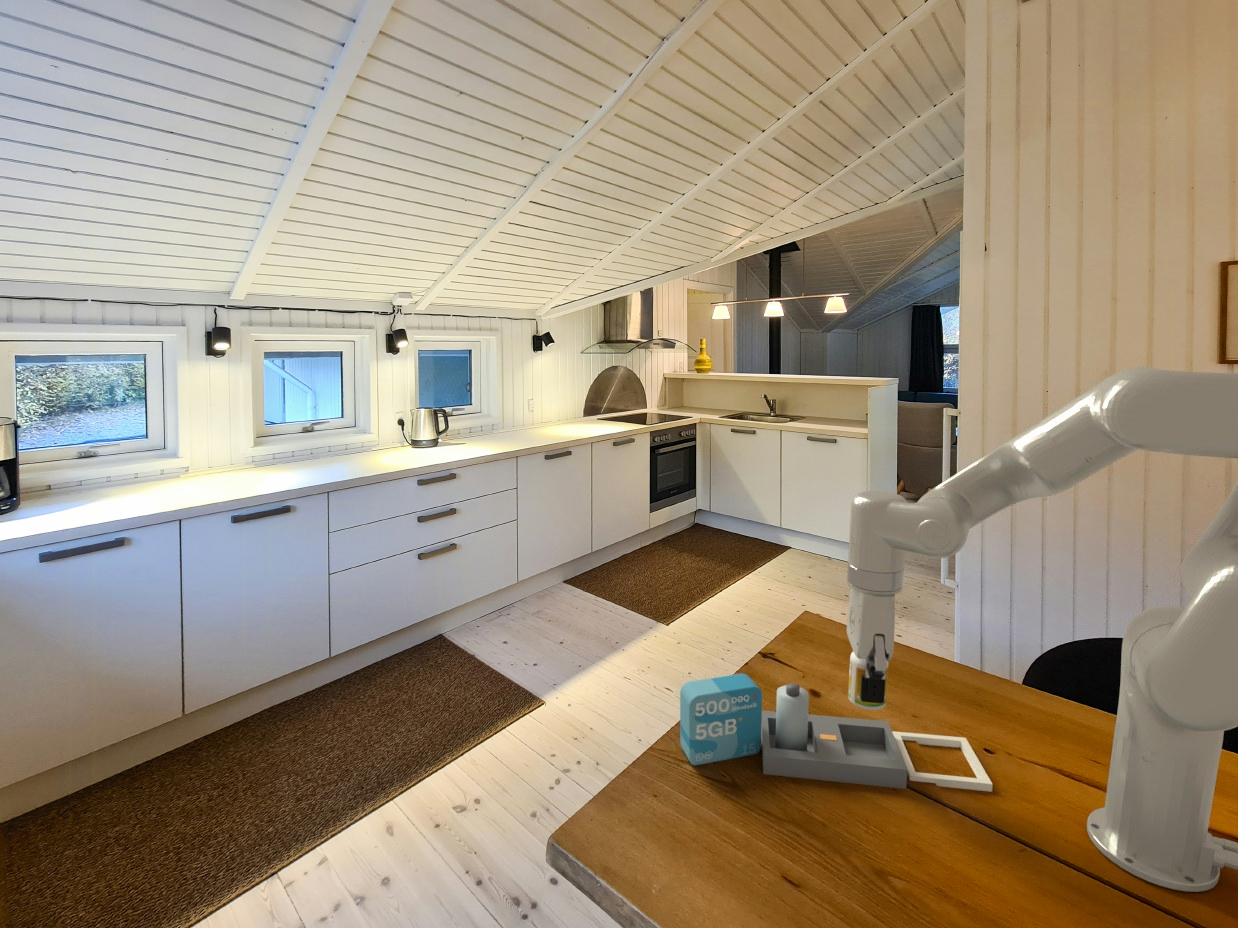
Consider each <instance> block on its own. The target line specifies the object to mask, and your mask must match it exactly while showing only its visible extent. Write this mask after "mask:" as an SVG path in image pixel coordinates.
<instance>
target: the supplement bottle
mask: <svg viewBox="0 0 1238 928" xmlns="http://www.w3.org/2000/svg"><path fill="white" fill-rule="evenodd" d="M869 655H870V656H874V652H870V653H869ZM874 663H875V661H869V669H870V667H871V666H874ZM889 665H890V664H889V661H887V660H886V681H885V696H884V702H883V703H871V702H863V701H861V698H860V694H861V677H862V675H864V658H861V659H859V658H857V657H856V655H855V654H854V651H853V650H852V652H851V654H850V658H849V671H848V686H847V688H848V691H847V692H848V693H847V696H848V697H847V698H848V700H849V702H850V703H851V704H852V705H855V706H856V707H859V708H860V709H863V710H867V711H878V710H882V709H883V708H885V706H886V704H887V698H888V697H887V694H888V677H889Z"/></svg>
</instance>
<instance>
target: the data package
mask: <svg viewBox="0 0 1238 928" xmlns="http://www.w3.org/2000/svg"><path fill="white" fill-rule="evenodd" d="M679 701H680V702H679V704H680V705H679V709H680V710H679V713H680V714H679V715H680V716H679V718H680V721H679V726H680V727H679V728H680V731H679V732H680V733H679V736H680V738H679V741H680V746H681V748H682V750H683V752H684V754H685V755H686V757H687V759H688V761H689V762H690V764H691V765H692V766H700V765H704V764H705V765H706V764H710V763H715V762H719V761H720V762H721V761H725V760H731V759H736V758H741V757H745V756H747V757H748V756H752V755H757V754H759V752H760V751H761V750H762V740H761V724H762V711H763V692H762V690H761V688H760V687H759V686H758V685H757V684H756V683H755V682H754V681H753V679H752V678H751V677H750V676H749V675H747V673H736V674H730V675H723V676H718V677H711V678H705V679H703V678H702V679H698V680H689V681H687V682H686V683H683V685H682V687H681V688H680V690H679Z"/></svg>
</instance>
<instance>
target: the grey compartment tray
mask: <svg viewBox="0 0 1238 928" xmlns="http://www.w3.org/2000/svg"><path fill="white" fill-rule="evenodd" d="M892 731H893V730H892V728H891V726H890V723H889V721H888V720H880V719H879V720H878V719H877V720H876V719H866V718H853V717H841V716H830V715H819V714H809V713H808V736H807V751H797V750H786V749H776V748H775V743H776V711H773V710H772V711H771V710H762V724H761V755H762V770H763V771H762V773H763V775H769V776H770V775H771V776H778V777H779V776H781V777H789V778H799V779H808V780H817V781H818V780H819V781H829V782H838V783H846V784H856V785H857V784H858V785H865V786H874V787H875V786H876V787H885V788H895V789H904V790H905V789H907V780H908V774H907V768H906V765H905V763H904V760H903V758H902V755H901V753H900V750H899V748H898V745H897V743H896V740H895V738H894V735H893V733H892Z"/></svg>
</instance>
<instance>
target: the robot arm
mask: <svg viewBox="0 0 1238 928" xmlns="http://www.w3.org/2000/svg"><path fill="white" fill-rule="evenodd" d="M1137 450H1139V451H1140V450H1141V451H1146V452H1155V453H1164V454H1173V455H1185V456H1196V457H1208V458H1209V457H1212V458H1226V459H1236V460H1237V459H1238V372H1204V371H1203V372H1202V371H1185V370H1183V371H1182V370H1170V369H1169V370H1167V369H1160V368H1154V367H1148V366H1147V367H1144V366H1142V367H1130V368H1127V369H1124V370H1121V371H1118V372H1116V373H1114V374H1112V375H1110V376H1108V377H1106V378H1105V379H1104V380H1101V381H1100V382H1099V383H1097V384H1095V385H1093V386H1092V387H1091V388H1089V389H1088V390H1086V391H1085V392H1082V394H1080V395H1078V396H1077V397H1075V398H1074V399H1072V400H1070V401H1069V402H1067V403H1066V404H1065V405H1063V406H1061V407H1060V408H1058V409H1057V410H1055V411H1054V412H1052V413H1050V414H1049V415H1047V416H1046V417H1044V418H1042V419H1040V421H1038V422H1036V423H1035V424H1033V425H1032V426H1030V427H1028V428H1027V429H1025V430H1023V431H1022V432H1020V433H1019V434H1017V435H1016V436H1014V437H1012V438H1011V439H1009V440H1007V441H1006V442H1005V443H1002V444H1001V445H999V446H998V447H997V448H996V449H994V450H993V451H991V452H989V453H988V454H987V455H985V456H983V457H981V458H980V459H977V460H976V461H974V462H973V463H972V464H969V465H968V466H966V467H964V468H963V469H961V470H960V471H959V472H957V473H955V474H954V475H952V476H950V477H949V478H947V479H946V480H945V481H943V482H941V483H939V484H938V485H937V486H935V487H933V488H931V490H929V491H927V492H926V493H925V494H923V495H922V496H921V497H920V498H919V500H917V502H907V501H908V500H906V498H905V497H903V496H902V495H900V494H897V493H894V492H889V491H883V490H882V491H881V490H880V491H879V490H867V491H862V492H859V493H857V494H855V495H854V497H852V499H851V506H850V521H849V522H850V523H849V537H848V538H849V542H848V555H847V556H848V558H847V560H848V561H847V577H846V578H847V579H846V583H847V584H846V585H847V586H848V587H850V590H849V600H848V609H847V610H848V611H847V612H848V613H847V620H846V634H847V637H848V641H849V643H850V646H851V649H852V652H853V651H854V654H855V655H856V657H857V658H859V659H861V658H864V675H862V677H861V694H860V698H861V701H863V702H871V703H883V702H884V696H885V681H886V660H887V661H888V662H889V661H890V660H892V657H893V655H894V645H895V642H894V641H895V628H896V626H895V625H896V624H895V623H896V622H895V621H896V595H898V594H900V593H901V592H902V591H903V586H904V585H903V584H904V574H905V573H904V571H905V570H904V569H905V555H906V552H909V553H912V554H916V555H918V556H922V557H925V558H929V559H930V558H931V559H944V558H945V559H946V558H950V557H952V556H955V555H956V554H957V553H959V552H960V551H961V550H962V549H963V547H964V546H965V544H966V542H967V538H968V535H969V531H970V530H971V529H972V528H973V527H975V526H977V525H978V524H981V523H982V522H983V521H985V520H987V519H989V518H990V517H992V516H994V515H996V514H998V513H999V512H1001V511H1003V510H1005V509H1007V508H1009V507H1011V506H1012V505H1013V506H1014V505H1015V504H1017V503H1020V502H1023V501H1026V500H1030V499H1035V498H1036V499H1037V498H1045V497H1050V496H1053V495H1054V496H1056V495H1057V494H1060V493H1063V492H1065V491H1067V490H1069V489H1071V488H1073V487H1075V486H1076V485H1078V484H1079V483H1081V482H1083V481H1084V480H1087V479H1088V478H1089V477H1091V476H1093V475H1095V474H1096V473H1098V472H1100V471H1102V470H1104V469H1105V468H1106V467H1109V466H1110V465H1112V464H1114V463H1116V462H1117V461H1118V460H1121V459H1123V458H1125V457H1127V456H1129V455H1130V454H1132V453H1134V452H1136V451H1137ZM1179 571H1180V572H1179V573H1180V580H1181V583H1182V586H1183V587H1184V589H1185V591H1186V593H1187V594H1188V597H1189V598H1190V601H1189V602H1188V604H1187V605H1186V607H1181V606H1174V605H1160V606H1156V607H1151V608H1148V609H1145V610H1144V611H1142V612H1140V613H1139V614H1136V616H1134V617H1133V618H1132V620H1131V621H1130V622H1129V624H1128V625H1127V627H1126V629H1125V632H1124V635H1123V637H1122V644H1121V660H1120V664H1121V665H1120V683H1119V684H1120V686H1119V695H1118V696H1119V697H1118V706H1117V713H1116V722H1115V724H1114V726H1115V727H1114V734H1113V741H1112V742H1113V743H1112V750H1111V758H1110V763H1109V764H1110V765H1109V773H1108V780H1107V788H1106V793H1105V794H1106V795H1105V802H1104V807H1099V808H1097V809H1094V810H1093V811H1092V812H1090V814H1089V815H1088V817H1087V821H1086V831H1087V834H1088V837H1089V838H1090V841H1091V842H1092V843H1093V844H1094V846H1096V848H1097V849H1098V850H1099V851H1100V852H1101V853H1102V854H1103V856H1105V857H1107V859H1109V860H1110V861H1111V862H1113V863H1114V864H1116V865H1117V866H1119V867H1120V868H1121V869H1123V870H1124V871H1126V872H1128V873H1130V874H1132V875H1133V876H1136V877H1137V878H1140V879H1142V880H1144V881H1147V882H1149V883H1152V884H1154V885H1157V886H1160V887H1163V888H1166V889H1171V890H1175V891H1181V892H1194V893H1195V892H1196V893H1199V892H1206V891H1209V890H1211V889H1213V888H1214V887H1216V885H1217V884H1218V883H1219V879H1220V875H1221V874H1220V873H1221V872H1220V871H1221V869H1223V868H1224V867H1227V868H1231V869H1234V870H1236V871H1238V842H1235V841H1232V840H1230V839H1226V838H1220V837H1217V836H1213V835H1212V834H1211V833H1210V832H1208V830H1209V825H1210V819H1211V818H1210V817H1211V811H1212V805H1213V800H1214V794H1215V787H1216V781H1217V775H1218V771H1219V763H1220V758H1221V756H1222V755H1221V754H1222V748H1223V743H1224V734H1225V731H1229V730H1232V729H1235V728H1237V727H1238V480H1237V481H1236V483H1235V485H1234V486H1233V488H1232V490H1231V491H1230V493H1229V495H1228V497H1227V498H1226V500H1225V502H1224V503H1223V505H1222V506H1221V508H1220V509H1219V510H1218V512H1217V513H1216V515H1215V516H1214V517H1213V519H1212V521H1211V522H1210V523H1209V525H1208V526H1207V528H1206V529H1205V530H1204V532H1203V533H1202V534H1201V536H1200V538H1198V540H1197V541H1196V543H1195V544H1194V545H1193V546H1192V548H1191V549H1190V550H1189V551H1188V553H1187V554H1186V556H1185V557H1184V559H1183V560H1182V562H1181V566H1180V570H1179ZM870 652H874V656H870V655H869V653H870ZM869 661H875V663H874V666H871V667H870V669H869Z"/></svg>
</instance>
